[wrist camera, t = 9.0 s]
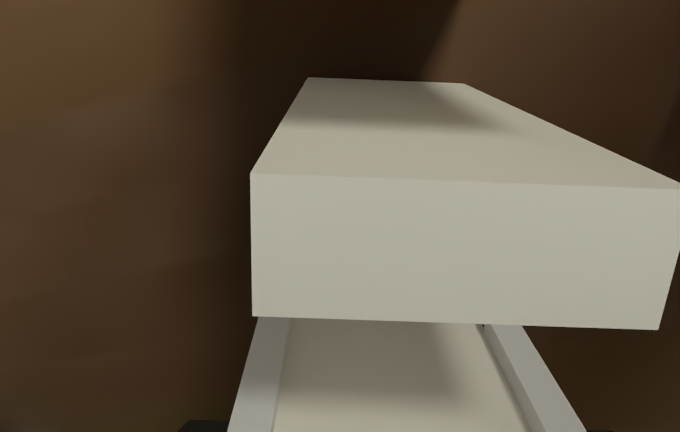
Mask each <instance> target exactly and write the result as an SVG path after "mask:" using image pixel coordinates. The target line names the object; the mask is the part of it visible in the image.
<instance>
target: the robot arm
mask: <svg viewBox="0 0 680 432" xmlns="http://www.w3.org/2000/svg"><path fill="white" fill-rule="evenodd" d="M290 327H291V317H262V316H259V317H258V321H257V324H256V328H255V332H254V335H253V339H252V342H251V346H250V350H249V353H248V357H247V361H246V364H245V368H244V372H243V375H242V379H241V383H240V386H239V390H238V393H237V397H236V401H235V404H234V408H233V412H232V415H231V419H230V421H210V420H189V421H188V422H187V423H186V424H185V425H184V426H183V427H182V428H181V429H180V430H179V431H178V432H274V428H275V422H276V416H277V409H278V403H279V397H280V390H281V384H282V378H283V371H284V365H285V359H286V352H287V346H288V340H289V333H290ZM484 333H485V335H486V337H487V339H488V341H489V344H490V346H491V348H492V350H493V352H494V354H495V356H496V358H497V360H498V362H499V364H500V367H501V369H502V371H503V373H504V375H505V377H506V379H507V381H508V383H509V385H510V387H511V389H512V392H513V394H514V396H515V398H516V400H517V402H518V404H519V406H520V408H521V410H522V412H523V414H524V417H525V419H526V421H527V423H528V425H529V427H530V429H531V431H532V432H612V431H597V430H586V429H585V428H584V426H583V424H582V423H581V421H580V420H579V418H578V416H577V415H576V413H575V412H574V410H573V408H572V407H571V405H570V403H569V402H568V400H567V399H566V397H565V395H564V394H563V392H562V390H561V389H560V387H559V386H558V384H557V382H556V381H555V379H554V377H553V376H552V374H551V373H550V371H549V369H548V368H547V366H546V365H545V363H544V361H543V360H542V358H541V356H540V355H539V353H538V352H537V350H536V348H535V347H534V345H533V343H532V342H531V340H530V339H529V337H528V335H527V334H526V332H525V331H524V329H523V327H522V326H521V325H496V324H485V325H484Z"/></svg>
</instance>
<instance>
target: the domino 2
mask: <svg viewBox="0 0 680 432" xmlns="http://www.w3.org/2000/svg"><path fill="white" fill-rule="evenodd" d="M274 432H532V431H531V429H530V427H529V425H528V423H527V421H526V419H525V417H524V414H523V412H522V410H521V408H520V406H519V404H518V402H517V400H516V398H515V396H514V394H513V392H512V389H511V387H510V385H509V383H508V381H507V379H506V377H505V375H504V373H503V371H502V369H501V367H500V364H499V362H498V360H497V358H496V356H495V354H494V352H493V350H492V348H491V346H490V344H489V341H488V339H487V337H486V335H485V333H484V328H483V326H482V324H467V323H438V322H408V321H379V320H350V319H321V318H291V327H290V333H289V340H288V346H287V352H286V359H285V365H284V371H283V378H282V384H281V390H280V397H279V403H278V409H277V416H276V422H275V428H274Z"/></svg>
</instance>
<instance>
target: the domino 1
mask: <svg viewBox="0 0 680 432" xmlns="http://www.w3.org/2000/svg"><path fill="white" fill-rule="evenodd" d="M250 204H251V268H252V316H262V317H291V318H321V319H350V320H379V321H408V322H438V323H467V324H496V325H525V326H554V327H584V328H613V329H642V330H658V329H659V325H660V321H661V318H662V314H663V310H664V306H665V303H666V299H667V295H668V292H669V288H670V284H671V280H672V277H673V273H674V269H675V265H676V262H677V258H678V254H679V251H680V183H679V182H677V181H675V180H672V179H670V178H668V177H666V176H664V175H662V174H659V173H657V172H655V171H653V170H651V169H648V168H646V167H644V166H642V165H640V164H638V163H635V162H633V161H631V160H629V159H627V158H625V157H622V156H620V155H618V154H616V153H614V152H611V151H609V150H607V149H605V148H603V147H601V146H598V145H596V144H594V143H592V142H590V141H588V140H585V139H583V138H581V137H579V136H577V135H574V134H572V133H570V132H568V131H566V130H564V129H561V128H559V127H557V126H555V125H553V124H551V123H548V122H546V121H544V120H542V119H540V118H537V117H535V116H533V115H531V114H529V113H527V112H524V111H522V110H520V109H518V108H516V107H514V106H511V105H509V104H507V103H505V102H503V101H500V100H498V99H496V98H494V97H492V96H490V95H487V94H485V93H483V92H481V91H479V90H477V89H474V88H472V87H470V86H468V85H466V84H463V83H439V82H415V81H390V80H366V79H341V78H317V77H308V78H307V80H306V82H305V83H304V85H303V86H302V88H301V90H300V91H299V93H298V95H297V96H296V98H295V100H294V101H293V103H292V105H291V106H290V108H289V110H288V111H287V113H286V115H285V116H284V118H283V120H282V121H281V123H280V124H279V126H278V128H277V129H276V131H275V133H274V134H273V136H272V138H271V139H270V141H269V143H268V144H267V146H266V148H265V149H264V151H263V153H262V154H261V156H260V158H259V159H258V161H257V162H256V164H255V166H254V167H253V169H252V171H251V172H250Z"/></svg>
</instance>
